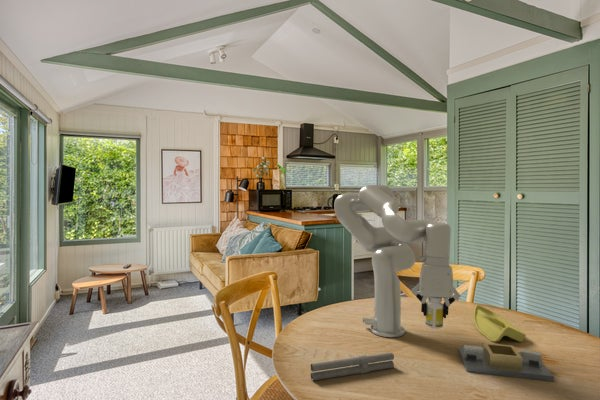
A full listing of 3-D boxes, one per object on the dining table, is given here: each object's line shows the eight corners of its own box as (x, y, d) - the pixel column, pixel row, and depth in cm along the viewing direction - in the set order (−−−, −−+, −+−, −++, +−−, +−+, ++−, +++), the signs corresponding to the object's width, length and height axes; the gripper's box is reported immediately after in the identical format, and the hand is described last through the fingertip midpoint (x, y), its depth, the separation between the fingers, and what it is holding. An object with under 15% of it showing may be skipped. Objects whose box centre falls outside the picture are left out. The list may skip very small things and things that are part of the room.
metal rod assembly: (313, 383, 98) (313, 365, 98) (310, 378, 101) (310, 361, 101) (396, 370, 106) (396, 353, 105) (391, 365, 108) (391, 349, 108)
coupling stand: (466, 371, 104) (466, 356, 104) (458, 350, 118) (458, 337, 117) (553, 381, 98) (553, 365, 98) (534, 358, 112) (534, 344, 112)
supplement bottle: (443, 324, 119) (444, 295, 118) (442, 330, 114) (443, 300, 113) (426, 321, 121) (427, 292, 120) (424, 327, 116) (425, 297, 115)
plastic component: (529, 336, 123) (504, 325, 122) (518, 355, 124) (494, 343, 123) (494, 312, 143) (473, 302, 142) (486, 328, 143) (464, 318, 143)
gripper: (409, 261, 115) (407, 316, 116) (467, 265, 110) (464, 323, 111) (408, 256, 122) (406, 308, 123) (463, 260, 117) (460, 314, 118)
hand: (434, 315), depth 117 cm, fingers closed on supplement bottle, 5 cm apart
